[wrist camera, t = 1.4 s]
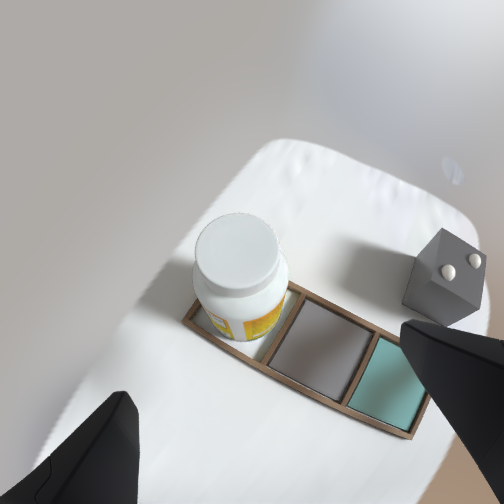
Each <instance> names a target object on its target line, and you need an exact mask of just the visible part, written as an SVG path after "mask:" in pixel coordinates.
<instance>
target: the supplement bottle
mask: <svg viewBox="0 0 504 504" xmlns="http://www.w3.org/2000/svg"><path fill="white" fill-rule="evenodd" d="M195 259H196V260H195V263H194V266H193V273H192V281H193V286H194V290H195V293H196V295H197V297H198V299H199V301H200V303H201V305H202V306H203V308H204V310H205V311H206V313H207V314H208V316H209V318H210V320H211V321H212V323H213V324H214V326H215V327H216V328H217V330H218V331H219V332H220V333H221V334H223V335H224V336H226V337H227V338H229V339H232V340H235V341H239V342H250V341H255V340H258V339H260V338H262V337H263V336H265V335H266V334H268V333H269V332H270V331H271V330H272V329H273V328H274V327H275V325H276V324H277V322H278V320H279V317H280V314H281V310H282V306H283V302H284V298H285V294H286V291H287V287H288V281H289V269H288V264H287V261H286V258H285V256H284V254H283V252H282V251H281V249H280V243H279V240H278V237H277V235H276V233H275V231H274V230H273V228H272V227H271V226H270V225H269V224H268V223H267V222H265V221H264V220H262V219H261V218H259V217H256V216H254V215H250V214H245V213H233V214H228V215H224V216H221V217H219V218H217V219H215V220H213V221H212V222H211V223H209V224H208V225H207V226H206V227H205V228H204V229H203V231H202V232H201V234H200V235H199V237H198V239H197V242H196V246H195Z"/></svg>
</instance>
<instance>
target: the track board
mask: <svg viewBox="0 0 504 504" xmlns="http://www.w3.org/2000/svg"><path fill="white" fill-rule="evenodd" d="M287 288H289V289H291V290H293V291H295V292H297V293H298V294H300V297H299V298H298V300H297V302H296V304H295V305H294V307H293V309H292V311H291V312H290V314H289V316H288V318H287V319H286V321H285V323H284V325H283V326H282V328H281V330H280V331H279V333H278V335H277V336H276V338H275V340H274V341H273V343H272V345H271V346H270V348H269V350H268V351H267V353H266V355H265V356H264V358H263V360H262V361H261V363H258V362H257V361H255V360H253V359H251V358H250V357H248V356H246V355H245V354H243V353H241V352H239V351H238V350H236V349H234V348H233V347H231V346H229V345H228V344H226V343H224V342H223V341H221V340H220V339H218V338H216V337H215V336H213V335H212V334H210V333H208V332H207V331H205V330H204V329H202V328H200V327H199V326H197V325H196V324H194V323H193V322H191V319H192V318H193V316H194V315H195V313H196V312H197V311H198V309H199V308H200V306H201V303H200V301H199V299H198V298H197V299H196V301H195V302H194V304H193V305H192V307H191V308H190V310H189V311H188V312H187V314H186V315H185V317H184V318H183V320H182V322H183V323H184V324H185V325H187V326H189V327H190V328H192V329H193V330H195V331H196V332H198V333H199V334H201V335H202V336H204V337H205V338H207V339H209V340H210V341H212V342H213V343H215V344H217V345H218V346H220V347H221V348H223V349H225V350H226V351H228V352H230V353H231V354H233V355H235V356H236V357H238V358H240V359H241V360H243V361H245V362H246V363H248V364H250V365H252V366H253V367H255V368H257V369H259V370H260V371H262V372H264V373H266V374H268V375H269V376H271V377H273V378H275V379H277V380H278V381H280V382H282V383H284V384H286V385H288V386H290V387H292V388H294V389H296V390H297V391H299V392H301V393H303V394H305V395H307V396H309V397H311V398H313V399H315V400H317V401H319V402H321V403H324V404H326V405H328V406H330V407H332V408H334V409H336V410H338V411H341V412H343V413H345V414H347V415H349V416H352V417H354V418H356V419H358V420H361V421H363V422H365V423H368V424H370V425H373V426H375V427H377V428H380V429H382V430H385V431H387V432H390V433H393V434H395V435H398V436H400V437H403V438H406V439H408V440H412V439H413V437H414V435H415V433H416V430H417V428H418V426H419V424H420V422H421V420H422V417H423V415H424V413H425V411H426V408H427V406H428V404H429V401H430V399H431V396H430V395H429V393H428V392H427V391H426V389H425V388H424V387H423V385H422V384H421V382H420V381H419V379H418V378H417V376H416V374H415V372H414V371H413V369H412V367H411V365H410V364H409V362H408V360H407V359H406V357H405V355H404V354H403V352H402V350H401V348H400V347H398V346H396V345H394V344H392V343H390V342H388V341H386V340H384V339H382V338H379V335H380V336H382V337H383V338H385V339H387V340H389V341H391V342H393V343H395V344H397V345H399V346H400V344H399V341H400V338H399V337H397V336H395V335H393V334H391V333H389V332H388V331H386V330H384V329H382V328H380V327H378V326H376V325H374V324H372V323H370V322H368V321H366V320H364V319H362V318H360V317H358V316H356V315H354V314H353V313H351V312H349V311H347V310H345V309H343V308H341V307H339V306H337V305H335V304H333V303H331V302H329V301H327V300H326V299H324V298H322V297H320V296H318V295H316V294H314V293H312V292H310V291H308V290H306V289H304V288H303V287H301V286H299V285H297V284H295V283H293V282H291V281H288V287H287ZM305 297H306V298H308V299H310V300H312V301H314V302H316V303H318V304H319V305H321V306H323V307H325V308H327V309H329V310H331V311H333V312H335V313H337V314H339V315H341V316H343V317H344V318H346V319H348V320H350V321H352V322H354V323H356V324H358V325H360V326H362V327H364V328H366V329H368V330H370V331H372V332H374V333H373V336H372V338H371V340H370V343H369V345H368V347H367V349H366V352H365V354H364V356H363V358H362V360H361V362H360V364H359V366H358V369H357V371H356V373H355V375H354V377H353V379H352V381H351V383H350V385H349V387H348V388H347V390H346V392H345V394H344V396H343V398H342V400H341V402H340V403H339V404H338V403H335V402H333V401H331V400H329V399H327V398H325V397H323V396H321V395H319V394H317V393H315V392H313V391H311V390H309V389H307V388H305V387H303V386H301V385H299V384H297V383H295V382H293V381H291V380H289V379H288V378H286V377H284V376H282V375H280V374H278V373H276V372H275V371H273V370H271V369H269V368H267V367H266V364H267V363H268V361H269V359H270V358H271V356H272V354H273V353H274V351H275V349H276V348H277V346H278V344H279V343H280V341H281V339H282V338H283V336H284V334H285V332H286V331H287V329H288V327H289V325H290V324H291V322H292V320H293V318H294V317H295V315H296V313H297V311H298V310H299V308H300V306H301V304H302V302H303V301H304V299H305ZM371 334H372V333H370V332H368V331H366V330H364V329H363V328H361V327H359V326H357V325H355V324H353V323H351V322H349V321H347V320H345V319H343V318H341V317H339V316H337V315H335V314H333V313H331V312H330V311H328V310H326V309H324V308H322V307H320V306H318V305H316V304H314V303H312V302H310V301H308V300H306V302H305V304H304V306H303V308H302V309H301V311H300V313H299V315H298V317H297V318H296V320H295V322H294V324H293V325H292V327H291V329H290V331H289V332H288V334H287V336H286V338H285V339H284V341H283V343H282V344H281V346H280V348H279V350H278V351H277V353H276V355H275V356H274V358H273V360H272V361H271V363H270V364H269V366H270V367H272V368H274V369H275V370H277V371H279V372H281V373H283V374H285V375H286V376H288V377H290V378H292V379H294V380H296V381H298V382H300V383H302V384H304V385H306V386H308V387H310V388H312V389H314V390H316V391H318V392H320V393H322V394H324V395H326V396H328V397H330V398H332V399H334V400H336V401H339V399H340V398H341V396H342V394H343V392H344V390H345V388H346V386H347V384H348V382H349V380H350V378H351V377H352V375H353V372H354V370H355V368H356V366H357V364H358V362H359V360H360V358H361V356H362V354H363V352H364V349H365V347H366V345H367V343H368V340H369V338H370V336H371ZM378 338H379V340H378ZM377 340H378V342H377ZM376 343H377V344H376ZM375 345H376V347H375ZM374 347H375V349H374ZM373 349H374V351H373ZM372 352H373V353H372ZM371 354H372V356H371ZM370 356H371V358H370ZM369 358H370V360H369ZM368 361H369V362H368ZM367 363H368V364H367ZM366 365H367V367H366ZM365 367H366V369H365ZM364 369H365V371H364ZM363 371H364V373H363ZM362 373H363V375H362ZM361 375H362V377H361ZM360 377H361V379H360ZM359 380H360V381H359ZM358 382H359V383H358ZM357 384H358V385H357ZM356 386H357V387H356ZM355 388H356V389H355ZM354 389H355V391H354ZM353 391H354V393H353ZM425 391H426V393H425ZM352 393H353V395H352ZM424 394H425V396H424ZM351 395H352V397H351ZM423 396H424V398H423ZM350 397H351V399H350ZM349 399H350V401H349ZM422 399H423V401H422ZM348 401H349V403H348ZM421 401H422V403H421ZM347 403H348V404H347ZM420 403H421V405H420ZM346 405H347V406H349V407H351V408H353V409H356V410H358V411H360V412H362V413H365V414H367V415H369V416H372V417H374V418H376V419H379V420H381V421H383V422H386V423H388V424H391V425H393V426H396V427H398V428H401V429H403V430H406V431H408V430H409V432H408V433H406V432H403V431H400V430H398V429H395V428H393V427H390V426H388V425H385V424H383V423H380V422H378V421H376V420H373V419H371V418H369V417H366V416H364V415H362V414H359V413H357V412H355V411H353V410H351V409H348V408H346ZM419 406H420V408H419ZM418 408H419V410H418ZM417 410H418V412H417ZM416 412H417V415H416ZM415 415H416V417H415ZM414 417H415V419H414ZM413 419H414V421H413ZM412 421H413V423H412ZM411 423H412V425H411ZM410 425H411V427H410ZM409 428H410V429H409Z"/></svg>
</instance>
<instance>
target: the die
mask: <svg viewBox="0 0 504 504" xmlns="http://www.w3.org/2000/svg"><path fill="white" fill-rule="evenodd" d="M485 267H486V255H484V254H483V253H481V252H480V251H478V250H477V249H475V248H474V247H472V246H471V245H469V244H468V243H466V242H465V241H463V240H461V239H460V238H458V237H457V236H455V235H453V234H452V233H450V232H449V231H447V230H445V229H444V228H441V229H440V231H439V232H438V233H437V234H436V235H435V236H434V238H433V239H432V240H431V241H430V242H429V243H428V244H427V246H426V247H425V248H424V249H423V250H422V251H421V252H420V253H419V254H418V256H417V257H416V260H415V263H414V267H413V270H412V274H411V277H410V280H409V283H408V287H407V290H406V293H405V296H404V299H403V302H402V304H404V305H405V306H407V307H409V308H411V309H413V310H415V311H417V312H418V313H420V314H422V315H424V316H426V317H428V318H430V319H431V320H433V321H435V322H437V323H439V324H441V325H442V326H444V327H447V326H449V325H451V324H453V323H455V322H457V321H459V320H461V319H463V318H465V317H466V316H468V315H470V314H472V313H474V312H475V311H477V310H479V309H480V305H481V299H482V292H483V285H484V276H485Z"/></svg>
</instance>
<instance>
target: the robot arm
mask: <svg viewBox="0 0 504 504" xmlns="http://www.w3.org/2000/svg"><path fill="white" fill-rule="evenodd" d="M399 344H400V348H401V350H402V352H403V354H404V355H405V357H406V359H407V360H408V362H409V364H410V365H411V367H412V369H413V371H414V372H415V374H416V376H417V378H418V379H419V381H420V382H421V384H422V385H423V387H424V388H425V389H426V391H427V392H428V393H429V395H430V396H431V398H432V399H433V400H434V402H435V403H436V405H437V406H438V407H439V409H440V410H441V412H442V413H443V415H444V416H445V417H446V419H447V420H448V422H449V423H450V425H451V426H452V428H453V429H454V430H455V432H456V433H457V435H458V436H459V438H460V439H461V441H462V442H463V444H464V445H465V447H466V448H467V450H468V451H469V453H470V455H471V456H472V458H473V459H474V461H475V462H476V464H477V465H478V467H479V469H480V471H481V472H482V474H483V475H484V477H485V479H486V480H487V482H488V484H489V485H490V487H491V488H492V490H493V492H494V494H495V495H496V497H497V499H498V501H499V502H500V504H504V340H499V339H495V338H490V337H486V336H482V335H477V334H473V333H469V332H464V331H460V330H456V329H452V328H448V327H443V326H439V325H435V324H431V323H427V322H423V321H419V320H415V319H410V320H408V321H406V322H403V323H402V325H401V332H400V341H399ZM139 459H140V444H139V413H138V409H137V407H136V406H135V404H134V402H133V401H132V399H131V397H130V396H129V394H128V393H127V392H126V391H117V392H114V393H112V394H111V395H110V396H109V397H108V398H107V399H106V400H105V401H104V402H103V403H102V404H101V405H100V406H99V407H98V408H97V409H96V410H95V411H94V412H93V413H92V414H91V415H90V416H89V417H88V418H87V419H86V420H85V421H84V422H83V423H82V424H81V425H80V426H79V427H78V428H77V429H76V430H75V431H74V432H73V433H72V434H71V435H70V436H69V437H68V438H67V439H66V440H65V441H64V442H63V443H61V444H60V445H59V446H58V447H57V448H56V449H55V450H54V451H53V452H52V453H51V454H50V456H48V457H47V458H46V459H45V460H44V461H43V462H42V463H41V464H40V465H39V466H38V467H37V468H36V469H34V470H33V471H32V472H31V473H30V474H29V475H27V476H26V477H25V478H24V479H23V480H21V481H20V482H19V483H17V484H16V485H15V486H14V487H12V488H11V489H10V490H8V491H7V492H6V493H5V494H3V495H2V496H0V504H137V499H138V475H139Z"/></svg>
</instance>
